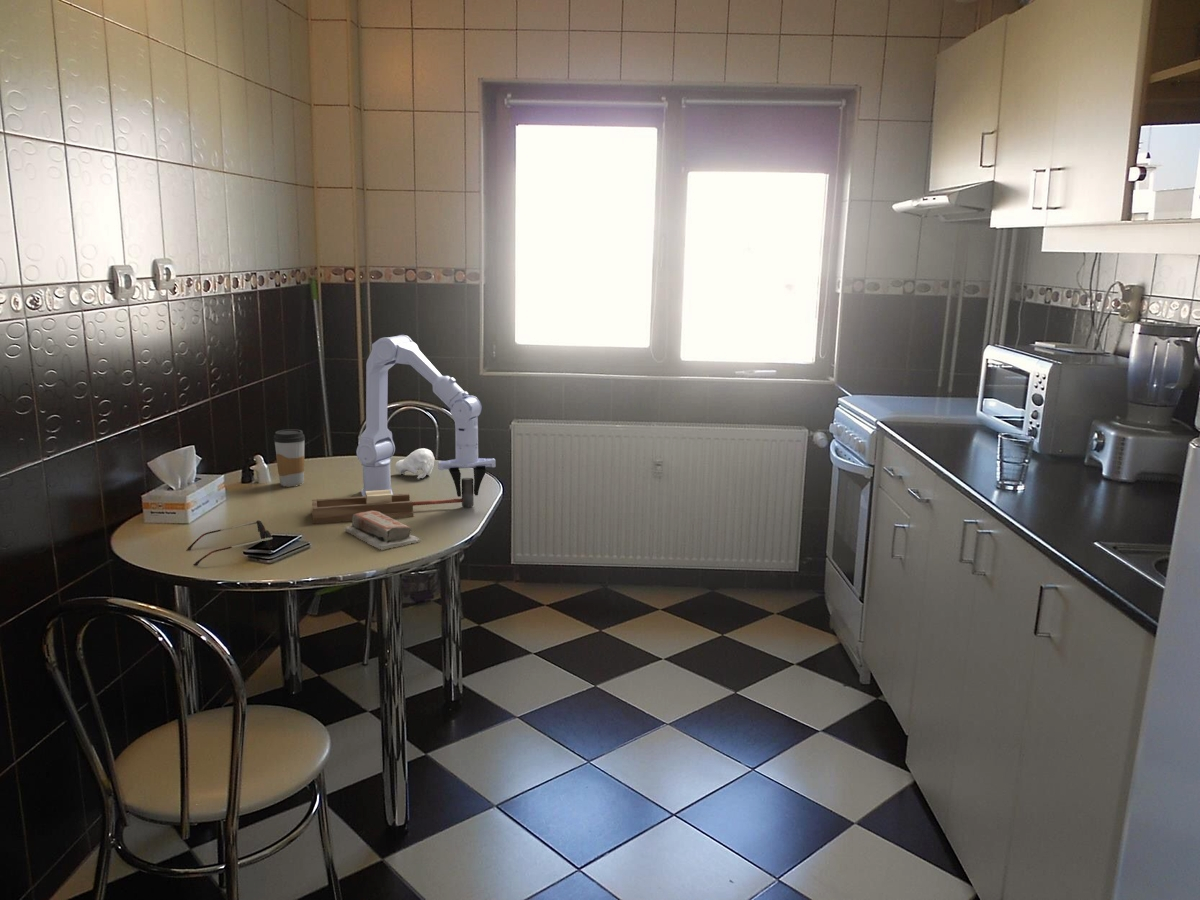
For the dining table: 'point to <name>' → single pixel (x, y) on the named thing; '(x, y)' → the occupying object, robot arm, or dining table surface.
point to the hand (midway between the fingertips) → (467, 495)
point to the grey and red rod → (466, 500)
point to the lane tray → (359, 508)
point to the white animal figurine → (417, 463)
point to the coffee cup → (290, 456)
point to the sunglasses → (264, 537)
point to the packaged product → (380, 530)
